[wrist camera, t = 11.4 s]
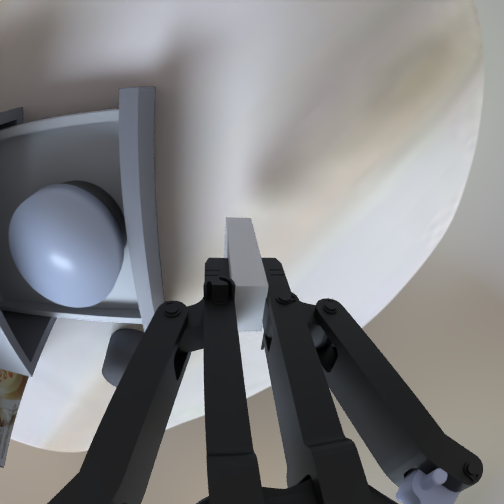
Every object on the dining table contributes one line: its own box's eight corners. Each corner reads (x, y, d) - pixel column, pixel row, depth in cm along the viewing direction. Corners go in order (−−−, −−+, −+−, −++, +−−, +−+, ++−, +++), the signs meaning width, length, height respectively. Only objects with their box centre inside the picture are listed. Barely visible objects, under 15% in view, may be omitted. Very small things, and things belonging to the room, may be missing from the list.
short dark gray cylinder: (116, 359, 28) (110, 389, 24) (105, 327, 25) (95, 359, 22) (160, 362, 28) (157, 393, 25) (153, 330, 26) (148, 364, 22)
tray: (12, 302, 22) (-5, 331, 18) (-33, 124, 12) (-66, 138, 9) (166, 313, 24) (161, 351, 21) (155, 86, 15) (138, 87, 11)
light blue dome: (35, 287, 17) (27, 300, 16) (11, 185, 13) (-3, 195, 12) (130, 296, 19) (125, 312, 17) (119, 183, 15) (111, 193, 13)
